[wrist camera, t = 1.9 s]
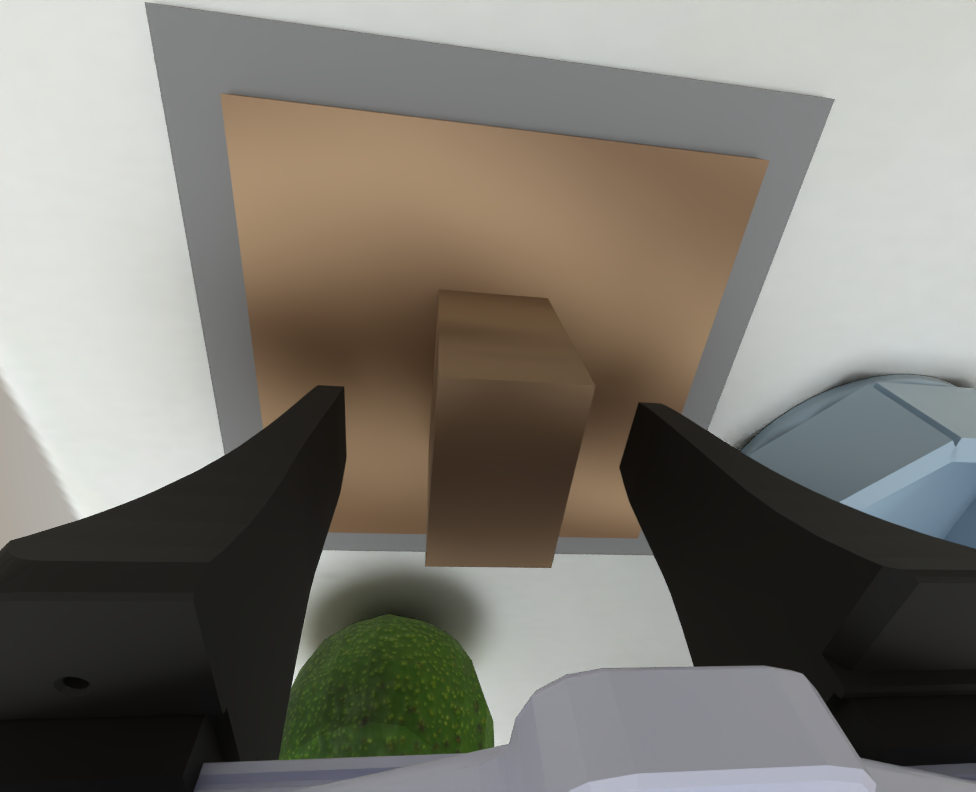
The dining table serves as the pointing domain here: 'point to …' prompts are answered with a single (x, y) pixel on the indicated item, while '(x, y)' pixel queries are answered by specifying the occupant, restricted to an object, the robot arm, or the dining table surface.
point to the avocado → (386, 695)
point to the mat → (463, 98)
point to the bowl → (884, 451)
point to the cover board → (484, 232)
